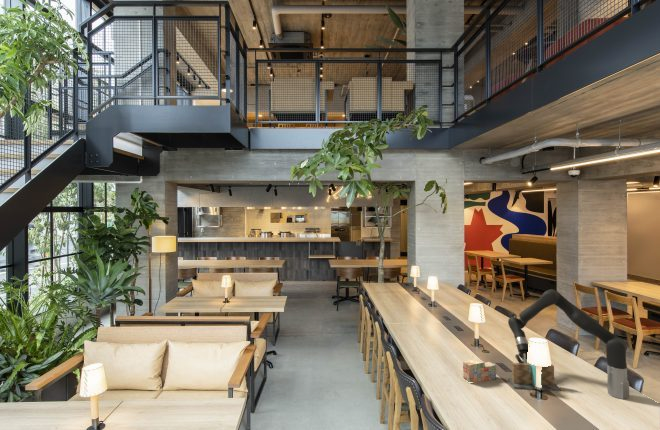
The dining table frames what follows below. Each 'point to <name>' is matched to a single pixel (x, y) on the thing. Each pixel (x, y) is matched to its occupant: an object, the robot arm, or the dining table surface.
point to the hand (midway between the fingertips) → (530, 370)
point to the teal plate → (533, 374)
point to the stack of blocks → (478, 370)
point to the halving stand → (524, 377)
